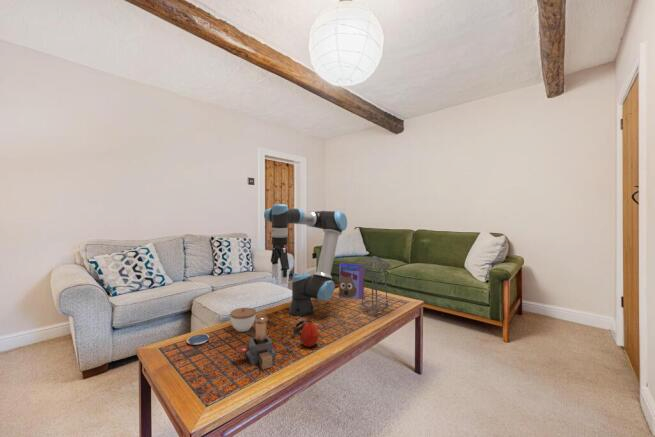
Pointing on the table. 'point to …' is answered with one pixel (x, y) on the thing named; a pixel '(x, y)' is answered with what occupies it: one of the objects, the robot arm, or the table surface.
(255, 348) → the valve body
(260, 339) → the pipe fitting
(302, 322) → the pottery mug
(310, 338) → the apple
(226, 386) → the table surface
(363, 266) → the geometric lantern
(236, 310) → the lidded bowl
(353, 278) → the cereal box
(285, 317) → the table surface
